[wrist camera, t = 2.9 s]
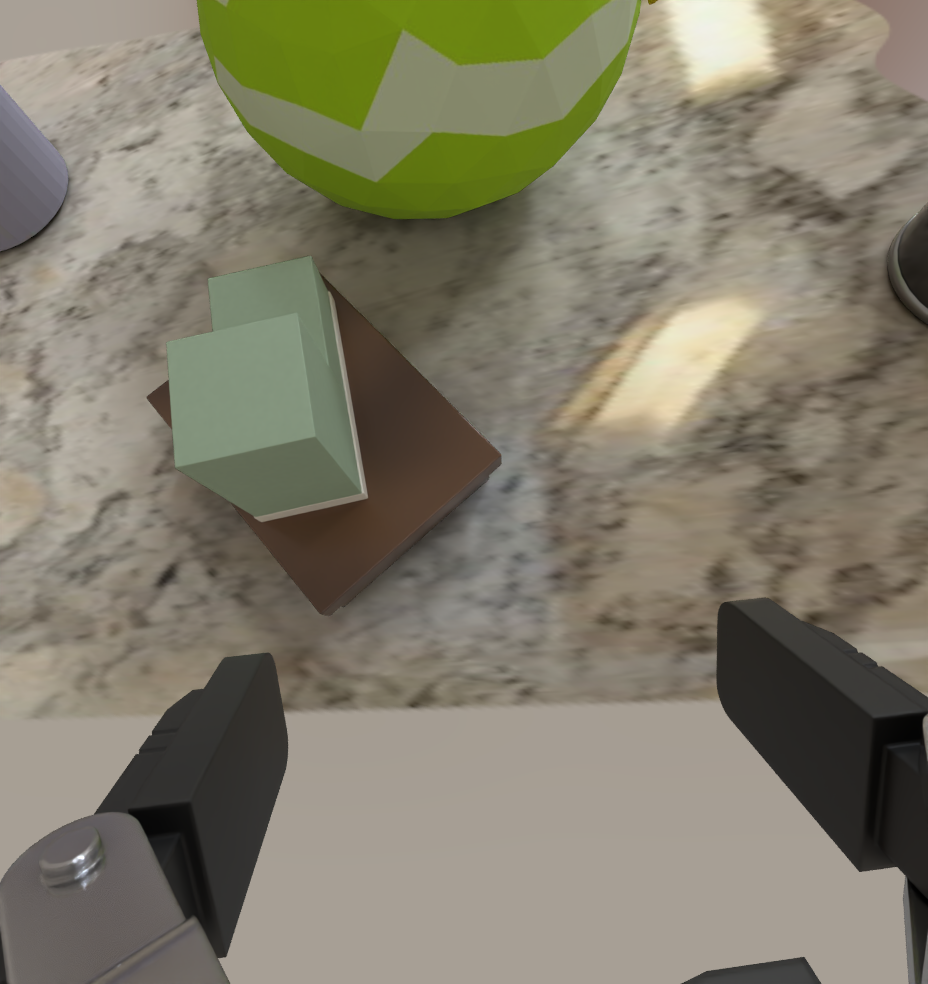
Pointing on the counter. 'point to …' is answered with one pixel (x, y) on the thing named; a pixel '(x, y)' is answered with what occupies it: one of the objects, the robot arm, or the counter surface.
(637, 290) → the counter surface
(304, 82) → the melon
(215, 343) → the sage green stepped block
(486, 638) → the counter surface
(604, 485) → the counter surface
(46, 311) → the counter surface
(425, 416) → the shoe shelf
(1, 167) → the container
